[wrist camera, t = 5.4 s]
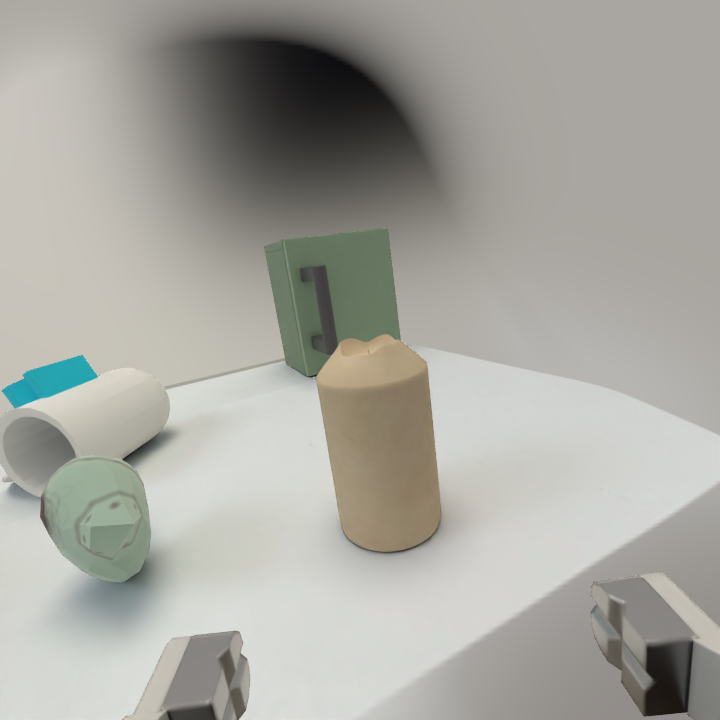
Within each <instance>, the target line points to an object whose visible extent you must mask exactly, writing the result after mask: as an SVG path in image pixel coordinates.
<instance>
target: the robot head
mask: <svg viewBox="0 0 720 720" xmlns="http://www.w3.org/2000/svg"><path fill="white" fill-rule="evenodd" d="M40 518H41V520H42V522H43V524H44V526H45V528H46V530H47V532H48V534H49V535H50V537H51V538H52V540H53V542H54V543H55V545H56V546H57V548H58V549H59V551H60V552H61V554H62V555H63V556H64V557H66V558H67V559H68V560H69V561H71V562H72V563H73V564H74V565H75V566H77V567H78V568H79V569H80V570H82V571H83V572H85V573H87V574H89V575H91V576H93V577H95V578H97V579H99V580H101V581H109V582H118V583H123V582H124V581H126V580H127V579H129V578H130V577H132V576H133V575H135V574H136V573H138V572H139V571H140V570H141V568H142V566H143V564H144V562H145V559H146V557H147V555H148V553H149V546H150V538H151V528H150V519H149V510H148V504H147V499H146V494H145V490H144V485H143V482H142V480H141V478H140V476H139V474H138V472H137V471H136V470H135V469H134V468H133V467H132V466H131V465H129V464H128V463H127V462H124V461H123V460H122V458H112V457H105V456H97V455H86V456H82V457H78V458H74V459H72V460H70V461H69V462H67V463H66V464H64V465H63V466H61V467H60V468H59V469H58V470H57V471H56V472H55V473H54V474H53V475H52V476H51V477H50V479H49V481H48V483H47V485H46V487H45V489H44V491H43V493H42V495H41V512H40Z"/></svg>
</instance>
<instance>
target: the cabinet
mask: <svg viewBox="0 0 720 720" xmlns="http://www.w3.org/2000/svg"><path fill="white" fill-rule="evenodd" d="M382 229H383V228H382ZM373 230H378V229H373ZM364 231H370V230H364ZM356 232H361V231H356ZM348 233H352V232H348ZM338 234H344V233H338ZM329 235H335V234H329ZM321 236H326V235H321ZM312 237H318V236H312ZM304 238H309V237H304ZM296 239H300V238H296ZM286 240H292V239H286ZM282 241H284V240H280V241H278V242H275V243H272V244H269V245H266V246H264V248H265V253H266V259H267V265H268V270H269V275H270V280H271V285H272V291H273V296H274V302H275V307H276V312H277V318H278V323H279V328H280V333H281V339H282V344H283V349H284V355H285V360H286V364H288V365H289V366H291V367H293V368H294V369H296V370H297V371H299V372H300V373H302V374H304V375H305V376H306V372H305V366H304V361H303V355H302V350H301V344H300V338H299V333H298V327H297V321H296V316H295V310H294V305H293V299H292V293H291V288H290V282H289V276H288V271H287V265H286V260H285V254H284V248H283V243H282Z"/></svg>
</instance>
